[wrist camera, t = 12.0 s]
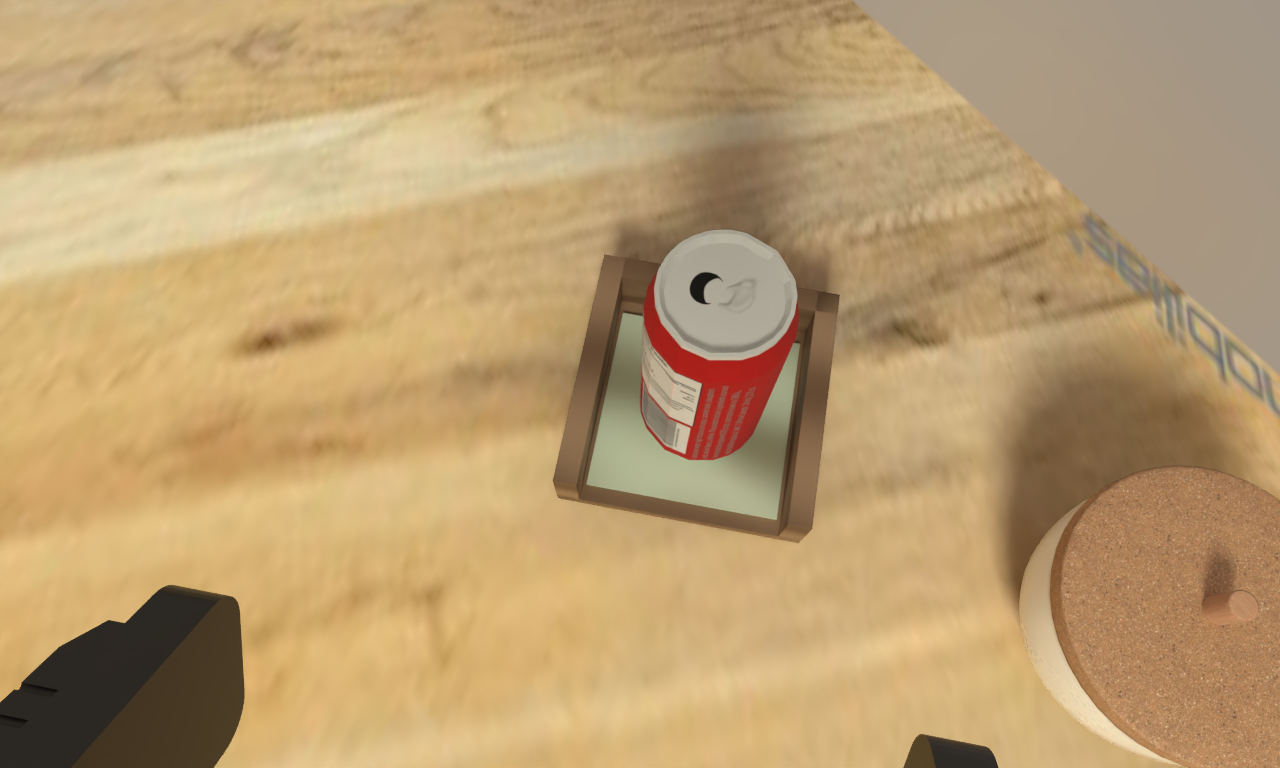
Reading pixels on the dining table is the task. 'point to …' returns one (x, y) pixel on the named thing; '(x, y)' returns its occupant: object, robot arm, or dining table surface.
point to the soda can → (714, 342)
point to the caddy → (669, 484)
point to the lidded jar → (1164, 617)
